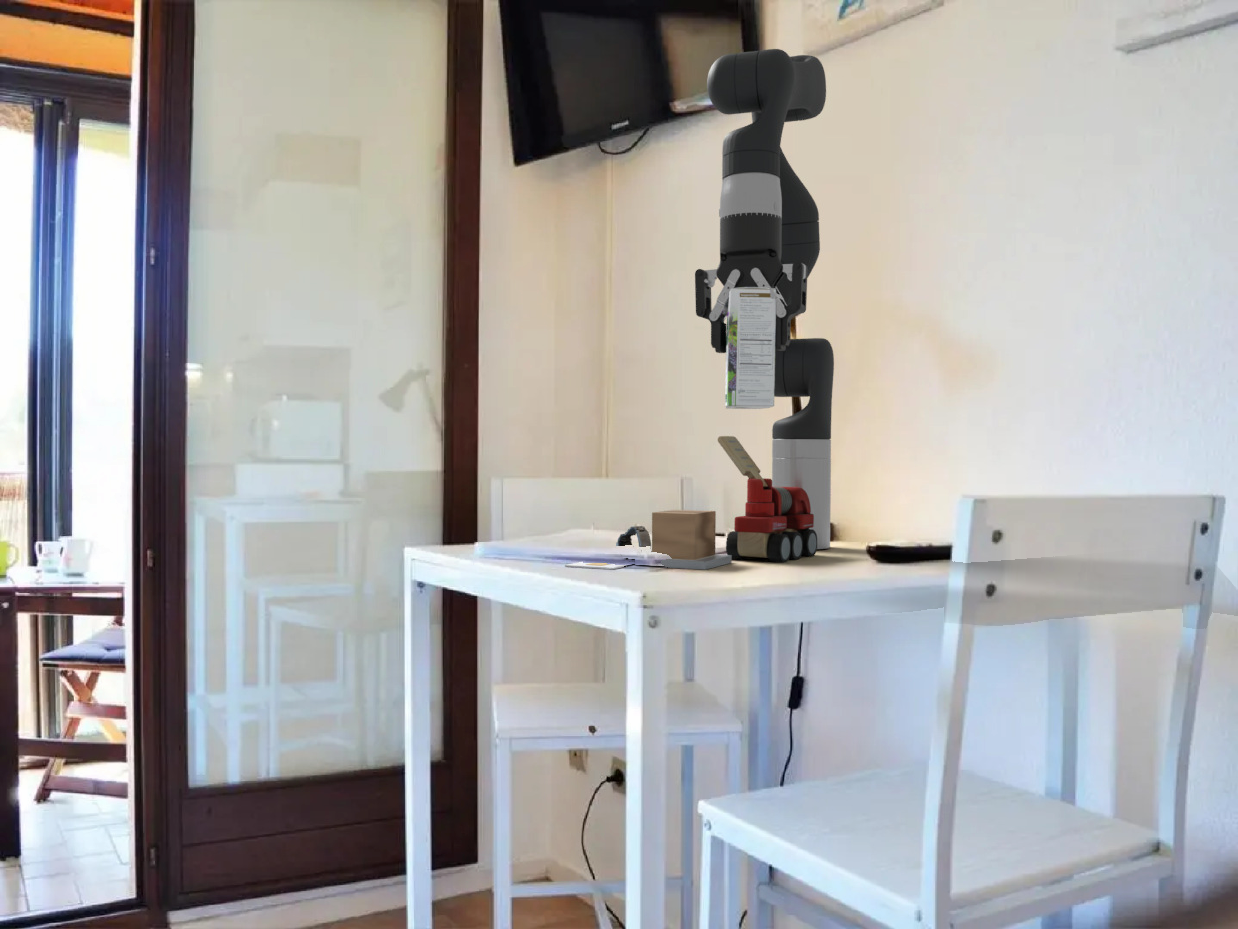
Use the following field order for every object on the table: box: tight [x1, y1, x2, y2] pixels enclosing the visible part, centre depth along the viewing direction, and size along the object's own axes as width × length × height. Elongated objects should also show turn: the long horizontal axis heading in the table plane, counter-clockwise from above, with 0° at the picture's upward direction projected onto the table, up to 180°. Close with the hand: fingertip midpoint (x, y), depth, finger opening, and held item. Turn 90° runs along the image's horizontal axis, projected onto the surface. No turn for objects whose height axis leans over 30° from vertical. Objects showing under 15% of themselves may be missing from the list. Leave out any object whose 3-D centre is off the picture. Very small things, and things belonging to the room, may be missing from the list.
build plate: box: [661, 554, 733, 571], centre depth 141 cm, size 10×10×1 cm
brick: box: [651, 509, 717, 560], centre depth 141 cm, size 8×6×6 cm
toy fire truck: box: [717, 435, 818, 563], centre depth 152 cm, size 11×16×18 cm
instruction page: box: [564, 561, 625, 570], centre depth 139 cm, size 9×7×1 cm
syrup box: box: [724, 287, 776, 410], centre depth 129 cm, size 6×6×14 cm
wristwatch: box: [615, 525, 652, 548], centre depth 147 cm, size 3×5×5 cm
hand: (750, 351), depth 129 cm, fingers closed on syrup box, 7 cm apart
